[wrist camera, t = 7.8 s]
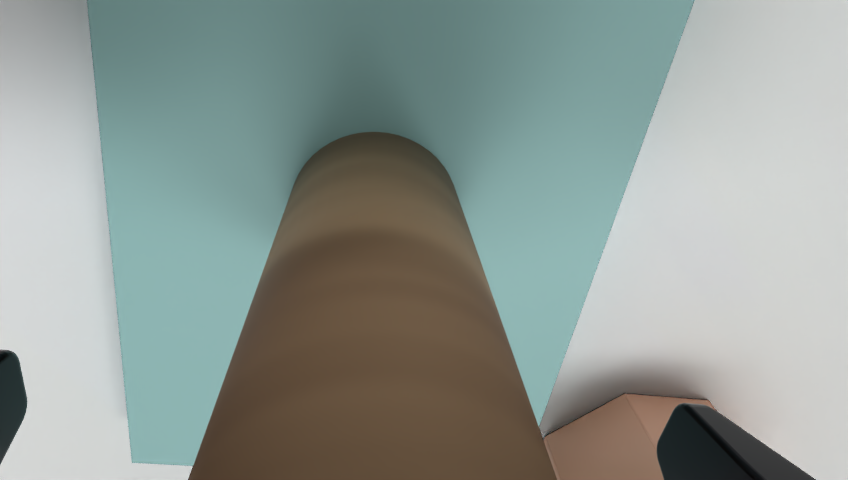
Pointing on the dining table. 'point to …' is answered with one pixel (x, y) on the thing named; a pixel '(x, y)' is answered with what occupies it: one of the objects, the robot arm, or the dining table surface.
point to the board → (341, 116)
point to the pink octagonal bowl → (614, 440)
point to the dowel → (373, 337)
